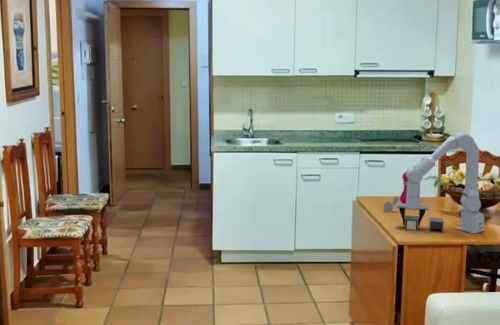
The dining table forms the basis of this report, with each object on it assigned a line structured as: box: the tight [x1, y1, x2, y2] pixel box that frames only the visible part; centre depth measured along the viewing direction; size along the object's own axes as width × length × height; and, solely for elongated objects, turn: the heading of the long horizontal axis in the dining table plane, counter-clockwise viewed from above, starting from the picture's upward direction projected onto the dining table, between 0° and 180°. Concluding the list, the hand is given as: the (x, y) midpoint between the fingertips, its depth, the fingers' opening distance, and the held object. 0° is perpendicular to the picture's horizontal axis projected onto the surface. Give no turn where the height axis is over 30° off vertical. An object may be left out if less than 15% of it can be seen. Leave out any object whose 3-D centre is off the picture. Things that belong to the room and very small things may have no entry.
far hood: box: [403, 214, 419, 231], centre depth 266 cm, size 6×6×5 cm
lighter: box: [383, 196, 400, 213], centre depth 293 cm, size 7×2×8 cm, turn 86°
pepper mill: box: [399, 168, 410, 204], centre depth 301 cm, size 7×7×20 cm
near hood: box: [428, 217, 445, 234], centre depth 263 cm, size 6×6×5 cm
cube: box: [406, 220, 417, 231], centre depth 266 cm, size 4×4×4 cm
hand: (411, 225), depth 266 cm, fingers closed on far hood, 6 cm apart
